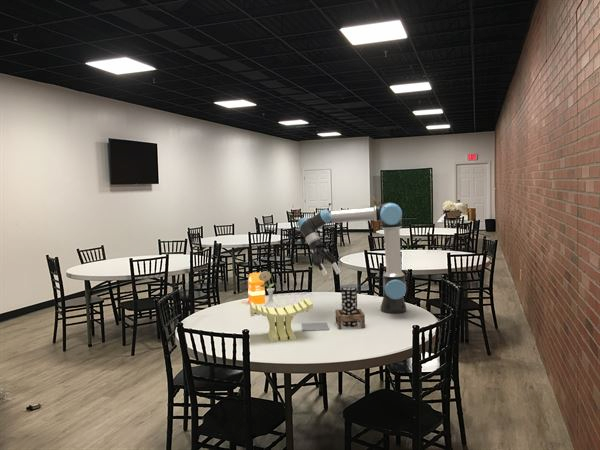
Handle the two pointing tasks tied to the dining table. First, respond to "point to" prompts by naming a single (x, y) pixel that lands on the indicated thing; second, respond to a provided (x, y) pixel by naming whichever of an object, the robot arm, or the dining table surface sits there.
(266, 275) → the flower in vase
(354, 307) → the spotted tube
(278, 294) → the dining table surface
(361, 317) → the square frame stand
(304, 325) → the mat
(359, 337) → the dining table surface
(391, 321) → the dining table surface
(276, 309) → the slatted curved stool
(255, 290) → the orange juice
